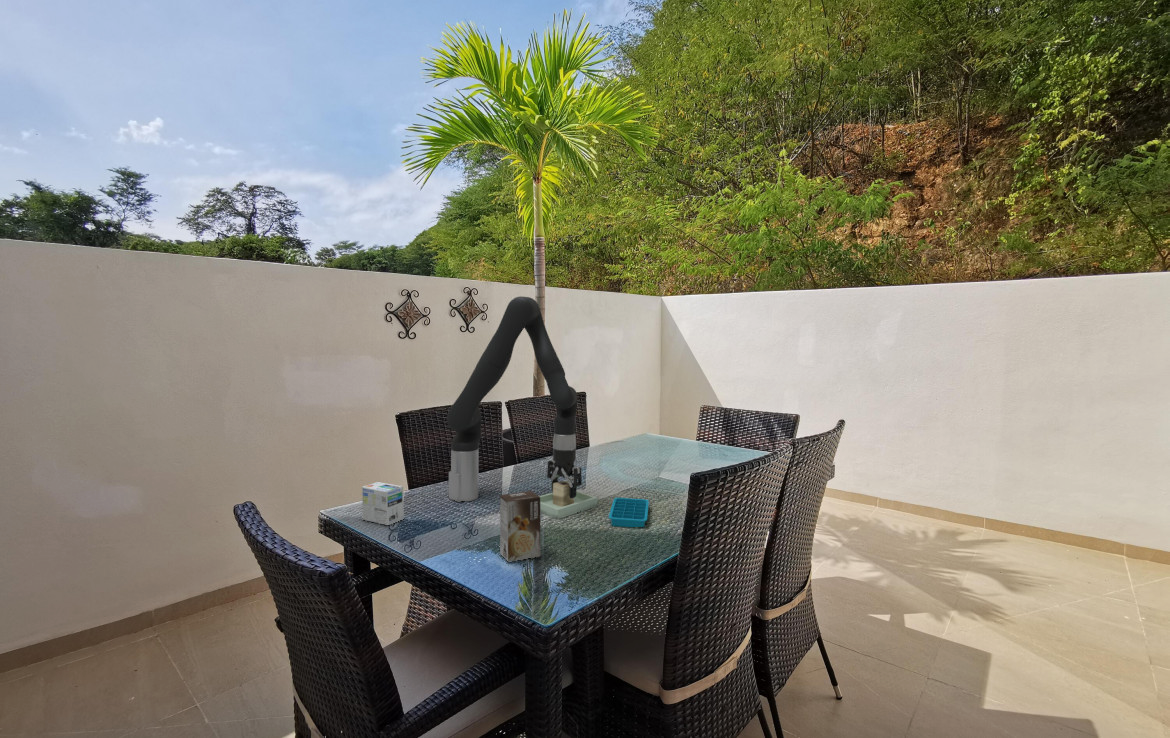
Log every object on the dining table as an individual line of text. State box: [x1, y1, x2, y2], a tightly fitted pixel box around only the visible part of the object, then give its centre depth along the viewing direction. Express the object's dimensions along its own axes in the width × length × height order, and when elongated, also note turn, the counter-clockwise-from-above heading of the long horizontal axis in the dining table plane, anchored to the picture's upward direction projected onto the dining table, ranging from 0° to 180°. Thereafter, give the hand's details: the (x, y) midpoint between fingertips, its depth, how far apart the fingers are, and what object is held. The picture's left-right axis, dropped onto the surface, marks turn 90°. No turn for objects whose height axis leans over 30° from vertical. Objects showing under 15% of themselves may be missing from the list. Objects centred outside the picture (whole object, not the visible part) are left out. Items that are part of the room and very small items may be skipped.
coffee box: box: [499, 490, 542, 562], centre depth 137 cm, size 9×6×16 cm
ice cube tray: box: [608, 497, 650, 528], centre depth 168 cm, size 12×20×3 cm, turn 171°
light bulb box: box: [361, 481, 405, 526], centre depth 160 cm, size 11×7×11 cm, turn 65°
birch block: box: [552, 480, 574, 507], centre depth 175 cm, size 5×5×7 cm
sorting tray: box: [538, 490, 599, 520], centre depth 176 cm, size 18×14×3 cm
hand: (563, 494), depth 175 cm, fingers open, 8 cm apart
